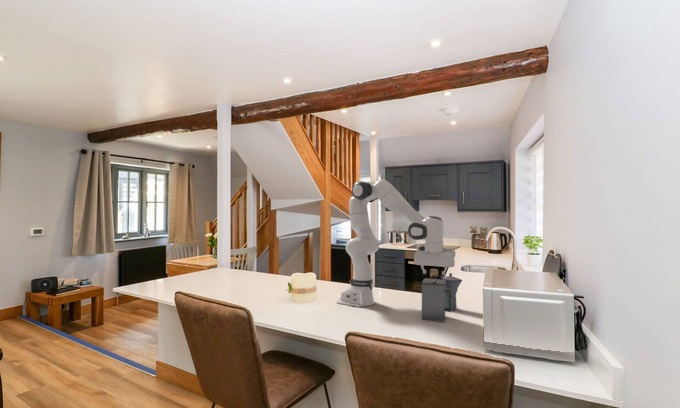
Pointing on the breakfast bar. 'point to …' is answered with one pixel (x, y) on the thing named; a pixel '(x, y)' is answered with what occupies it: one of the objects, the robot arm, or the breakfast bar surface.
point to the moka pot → (452, 284)
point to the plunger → (433, 274)
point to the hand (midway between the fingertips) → (433, 274)
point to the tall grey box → (435, 300)
